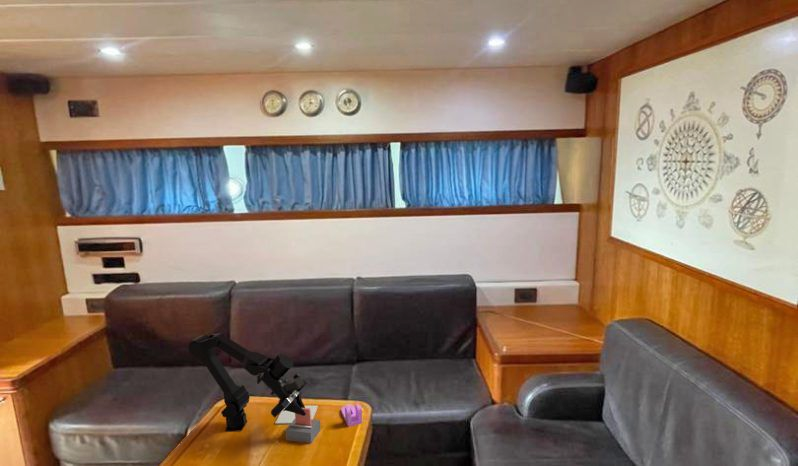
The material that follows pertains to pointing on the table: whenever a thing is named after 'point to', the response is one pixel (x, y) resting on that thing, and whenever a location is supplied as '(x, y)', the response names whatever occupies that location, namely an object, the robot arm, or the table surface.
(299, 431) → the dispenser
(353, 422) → the bracket
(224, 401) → the robot arm
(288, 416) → the mat
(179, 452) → the table surface
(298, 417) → the pink rectangular prism
